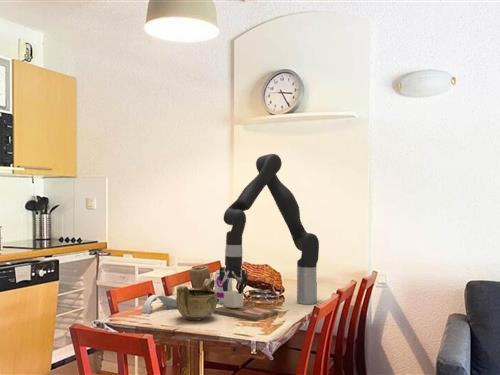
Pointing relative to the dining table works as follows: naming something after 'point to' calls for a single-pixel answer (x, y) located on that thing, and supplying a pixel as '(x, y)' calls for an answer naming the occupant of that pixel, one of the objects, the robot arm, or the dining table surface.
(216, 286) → the supplement can
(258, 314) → the post board
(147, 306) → the grey sandal
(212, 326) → the dining table surface
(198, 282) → the stone cup
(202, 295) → the ceramic bowl
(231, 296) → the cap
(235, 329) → the dining table surface
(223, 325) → the dining table surface
